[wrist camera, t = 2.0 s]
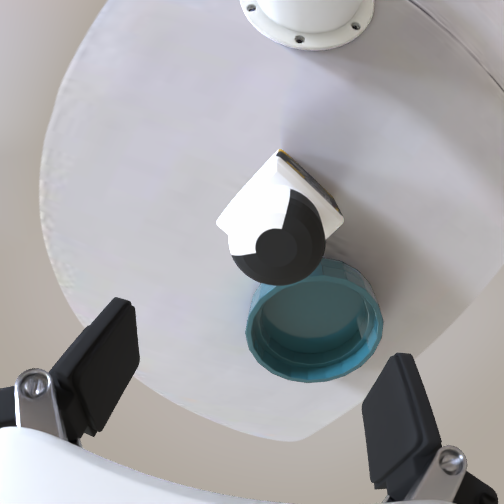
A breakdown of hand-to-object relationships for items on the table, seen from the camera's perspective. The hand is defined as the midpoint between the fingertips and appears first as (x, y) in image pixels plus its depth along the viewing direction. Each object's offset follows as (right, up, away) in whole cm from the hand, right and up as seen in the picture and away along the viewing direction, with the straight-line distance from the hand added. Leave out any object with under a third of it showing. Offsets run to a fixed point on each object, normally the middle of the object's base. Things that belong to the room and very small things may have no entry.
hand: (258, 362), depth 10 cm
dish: (+7, -3, +24) cm, 25 cm away
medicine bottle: (+3, +9, +19) cm, 21 cm away
